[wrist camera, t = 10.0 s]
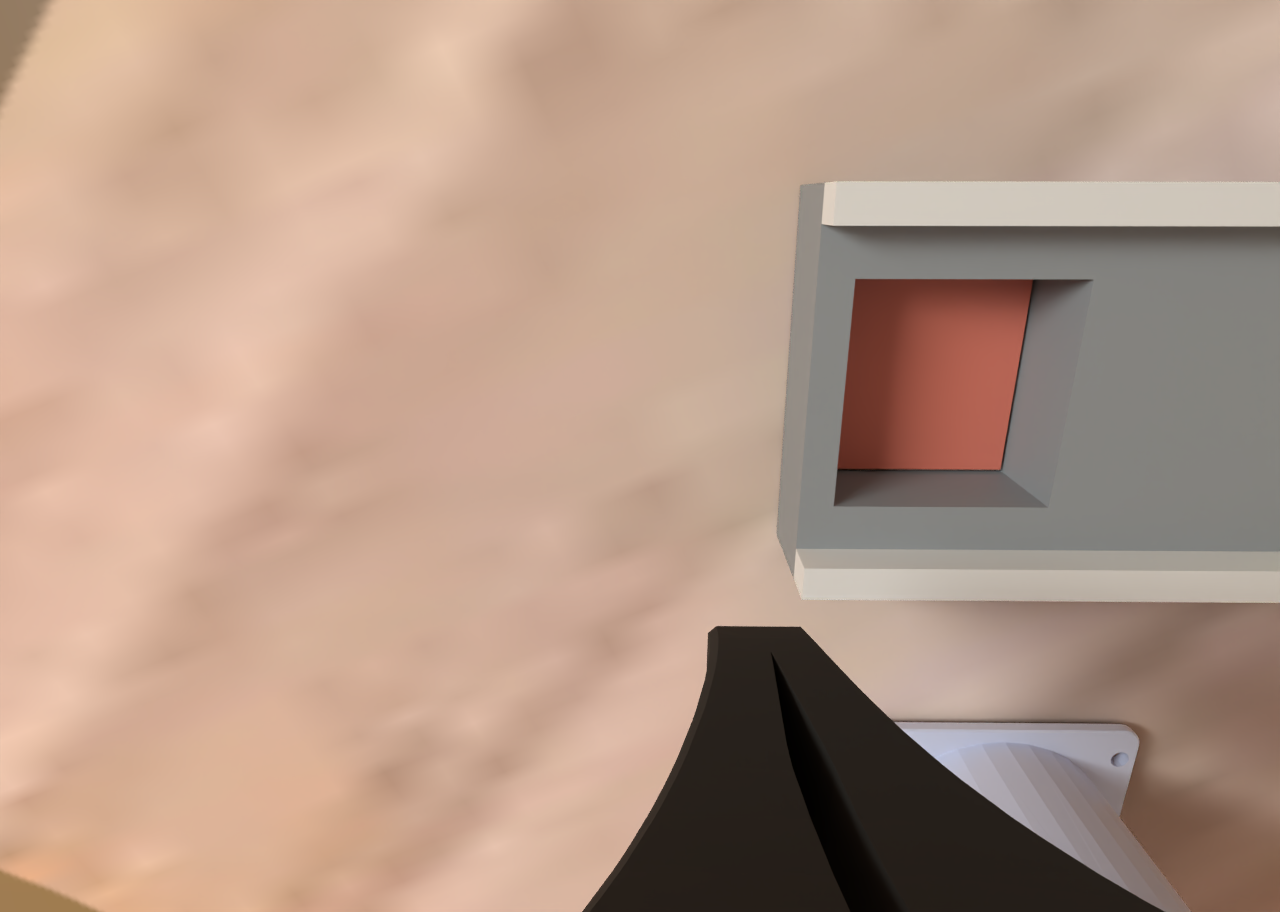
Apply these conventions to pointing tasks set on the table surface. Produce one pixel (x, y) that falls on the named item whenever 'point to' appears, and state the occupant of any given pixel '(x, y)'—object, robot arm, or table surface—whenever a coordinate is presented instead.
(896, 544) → the trap lane
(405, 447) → the table surface
